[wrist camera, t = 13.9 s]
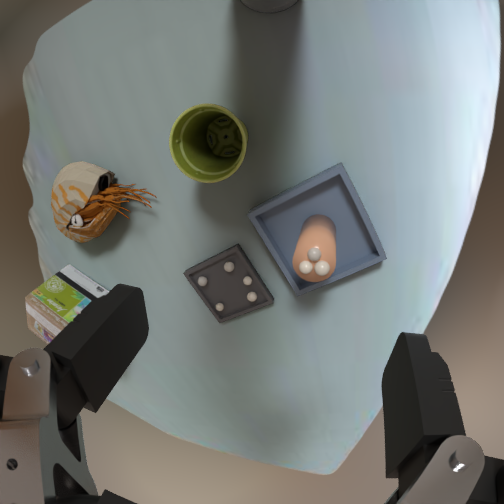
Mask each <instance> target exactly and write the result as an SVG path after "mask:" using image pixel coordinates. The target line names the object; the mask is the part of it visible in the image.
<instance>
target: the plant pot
mask: <svg viewBox="0 0 504 504" xmlns="http://www.w3.org/2000/svg"><path fill="white" fill-rule="evenodd" d="M222 119H227V120H228V121H223V122H220V123H219V120H222ZM210 135H211V136H212V143H213V144H211V142H210V140H209V136H210ZM225 135H227V136H228V138H224V136H225ZM247 142H248V132H247V129H246V127H245V125H244V123H243V122H242V121H241V120H239V119H238V118H237V117H236V116H235V115H234V114H233V113H232V112H230V111H229V110H227V109H226V108H224V107H222V106H219V105H215V104H199V105H196V106H193V107H191V108H189V109H187V110H186V111H184V112H183V113H182V114H181V115H180V116H179V117H178V118H177V120H176V121H175V123H174V125H173V127H172V129H171V132H170V138H169V147H170V152H171V155H172V158H173V160H174V162H175V164H176V165H177V167H178V168H179V169H180V171H181V172H183V173H184V174H185V175H186V176H188V177H189V178H191V179H193V180H196V181H199V182H203V183H214V182H219V181H222V180H224V179H226V178H228V177H230V176H231V175H232V174H234V173H235V172H236V171H237V169H238V168H239V167H240V165H241V164H242V162H243V160H244V157H245V153H246V146H247ZM230 151H235V152H234V153H231V154H226V153H225V152H230Z"/></svg>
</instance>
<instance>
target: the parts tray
mask: <svg viewBox="0 0 504 504" xmlns="http://www.w3.org/2000/svg"><path fill="white" fill-rule="evenodd" d="M183 274H184V275H185V277H186V278H187V279H188V281H189V282H190V284H191V285H192V286H193V288H194V289H195V290H196V292H197V293H198V295H199V296H200V297H201V299H202V300H203V301H204V303H205V304H206V305H207V307H208V308H209V310H210V311H211V312H212V314H213V315H214V316H215V318H216V319H217V320H218V322H219V323H221V322H224V321H226V320H229V319H232V318H235V317H237V316H240V315H243V314H245V313H248V312H251V311H253V310H256V309H259V308H261V307H264V306H266V305H269V304H272V303H273V302H274V298H273V296H272V294H271V293H270V291H269V290H268V288H267V287H266V285H265V284H264V282H263V281H262V279H261V278H260V276H259V274H258V273H257V271H256V270H255V268H254V267H253V265H252V264H251V262H250V261H249V259H248V257H247V256H246V254H245V253H244V251H243V250H242V248H241V247H240V245H239V244H237V245H235V246H233V247H231V248H229V249H227V250H225V251H223V252H221V253H219V254H217V255H215V256H213V257H211V258H209V259H207V260H205V261H203V262H201V263H199V264H197V265H195V266H193V267H191V268H189V269H187V270H186V271H185V272H184V273H183Z"/></svg>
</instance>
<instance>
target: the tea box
mask: <svg viewBox="0 0 504 504" xmlns="http://www.w3.org/2000/svg"><path fill="white" fill-rule="evenodd" d="M108 293H109V291H108V290H106V289H105V288H103V287H102V286H100V285H99V284H97V283H96V282H94V281H93V280H91V279H90V278H89V277H87V276H85V275H84V274H83V273H81V272H80V271H78V270H77V269H76V268H74V267H73V266H72V265H67V266H66V267H65V268H63V269H62V270H60V271H59V272H57V273H56V274H55V275H53V276H52V277H51V278H49V279H48V280H47V281H46V282H44V283H43V284H42V285H40V286H39V287H38V288H36V289H35V290H34V291H33V292H31V293H30V294H29V295H28V296H26V297H25V301H26V311H27V321H28V329H30V330H31V331H32V332H33V333H35V334H36V335H37V336H38V337H39V338H40V339H42V340H43V341H44V342H45V343H47V344H49V343H50V342H51V341H52V340H53V339H54V338H55V337H56V336H57V335H58V334H59V333H60V332H61V331H62V330H63V329H64V328H65V327H66V326H67V325H68V324H69V323H70V322H71V321H73V319H74V318H75V317H76V316H77V315H78V314H80V313H81V311H82V310H83V309H84V308H85V307H86V306H87V305H88V304H89V303H90V302H91V301H93V300H95V299H97V298H99V297H101V296H103V295H107V294H108Z"/></svg>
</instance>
